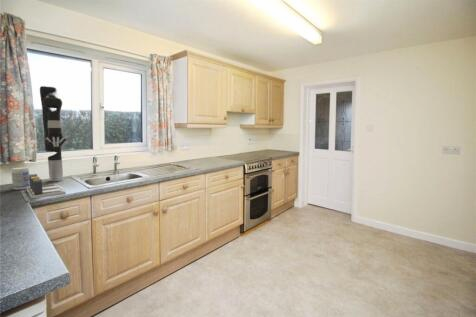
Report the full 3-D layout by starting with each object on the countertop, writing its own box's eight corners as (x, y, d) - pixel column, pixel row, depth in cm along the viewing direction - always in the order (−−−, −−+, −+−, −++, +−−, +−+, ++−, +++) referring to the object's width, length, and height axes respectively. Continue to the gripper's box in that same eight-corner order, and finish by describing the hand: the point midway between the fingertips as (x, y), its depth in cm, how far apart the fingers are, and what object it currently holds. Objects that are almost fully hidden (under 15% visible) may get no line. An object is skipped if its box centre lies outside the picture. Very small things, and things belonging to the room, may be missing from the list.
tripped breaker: (31, 190, 171) (30, 176, 170) (39, 189, 174) (38, 176, 173) (32, 191, 169) (31, 177, 168) (40, 190, 172) (39, 177, 170)
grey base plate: (26, 189, 179) (25, 174, 178) (57, 186, 191) (56, 171, 190) (31, 198, 159) (29, 181, 158) (65, 193, 171) (64, 177, 170)
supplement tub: (28, 189, 181) (26, 168, 179) (10, 190, 177) (9, 169, 175) (32, 186, 190) (30, 166, 188) (15, 187, 185) (13, 167, 184)
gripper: (64, 127, 183) (66, 151, 185) (41, 126, 174) (43, 152, 176) (67, 127, 178) (68, 152, 180) (43, 127, 169) (45, 153, 171)
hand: (56, 152), depth 178 cm, fingers closed
